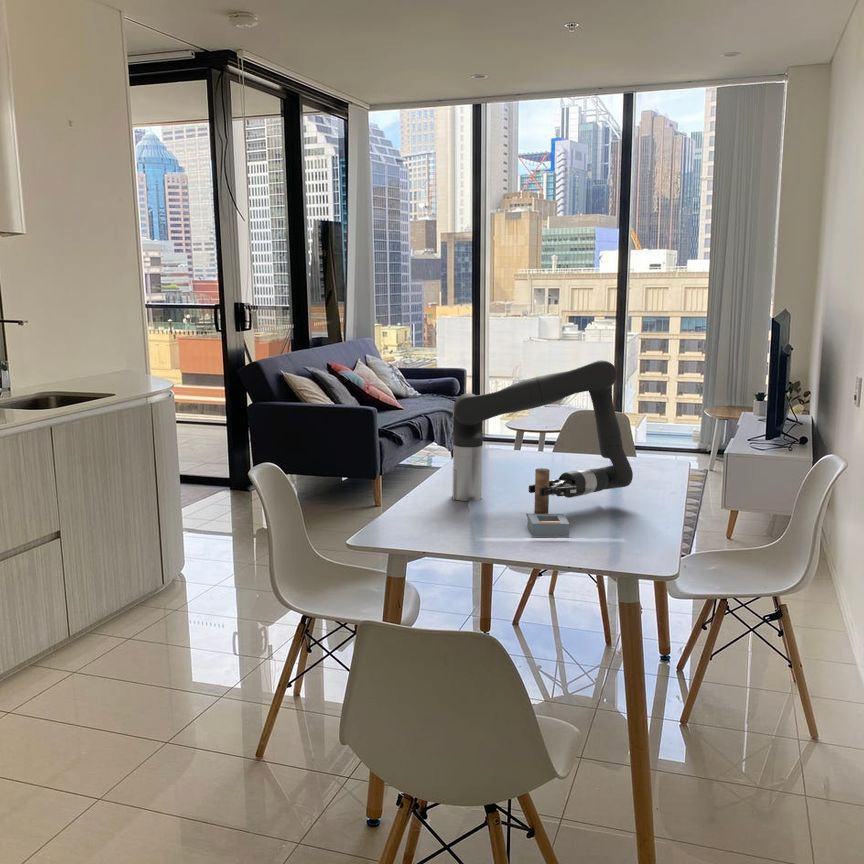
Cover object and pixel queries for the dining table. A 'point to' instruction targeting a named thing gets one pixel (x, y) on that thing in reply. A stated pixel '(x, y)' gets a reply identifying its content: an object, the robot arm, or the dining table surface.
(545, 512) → the walnut peg
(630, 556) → the dining table surface
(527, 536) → the dining table surface
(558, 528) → the socket block
